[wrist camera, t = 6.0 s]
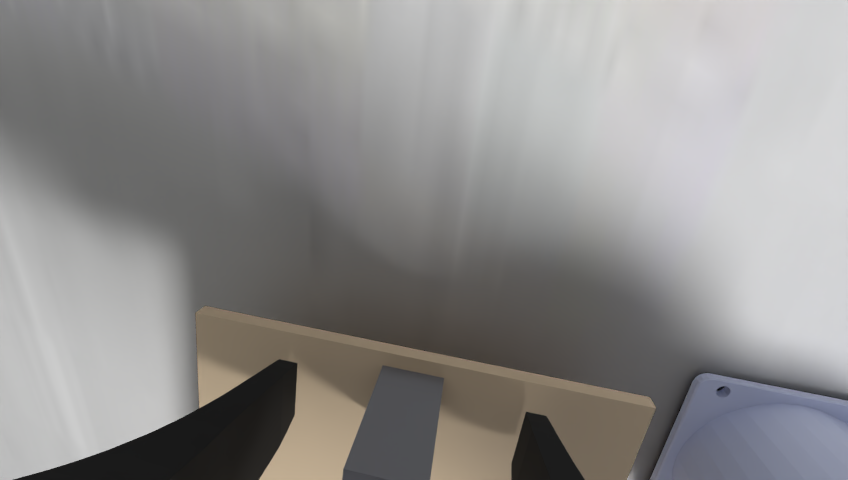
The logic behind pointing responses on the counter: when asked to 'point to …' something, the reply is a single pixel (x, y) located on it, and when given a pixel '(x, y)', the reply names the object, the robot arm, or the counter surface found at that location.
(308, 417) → the sliding lid
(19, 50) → the counter surface
